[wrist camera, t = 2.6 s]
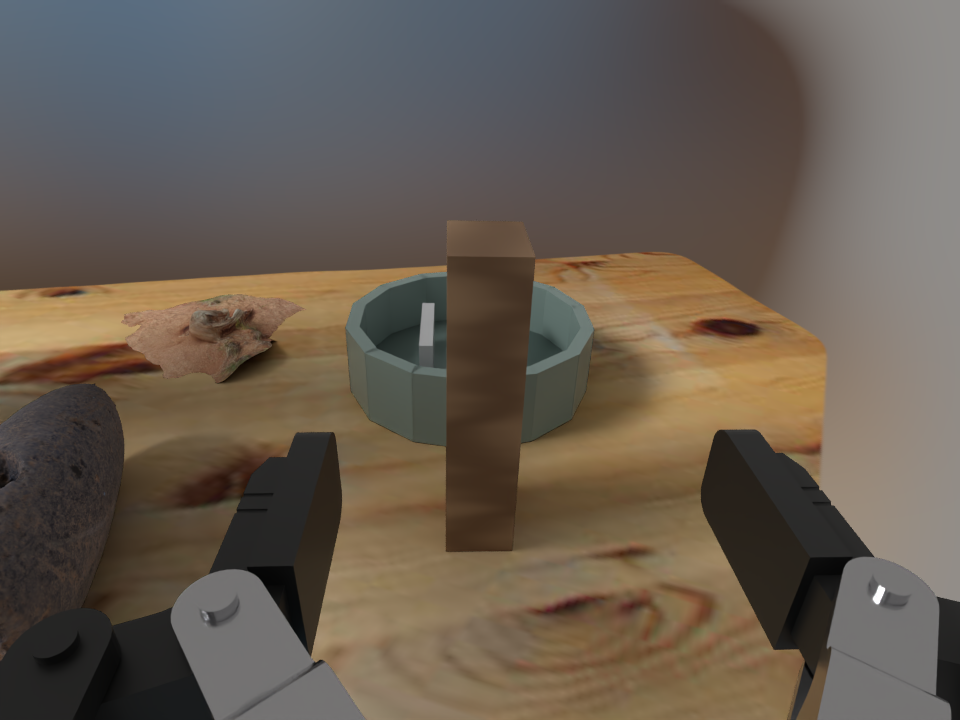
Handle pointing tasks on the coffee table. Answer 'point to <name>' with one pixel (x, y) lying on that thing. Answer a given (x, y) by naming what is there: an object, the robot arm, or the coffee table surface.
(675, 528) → the coffee table surface
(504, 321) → the tall wooden post
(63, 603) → the perforated stone tool
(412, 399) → the slotted round holder
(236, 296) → the clay slab
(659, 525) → the coffee table surface
